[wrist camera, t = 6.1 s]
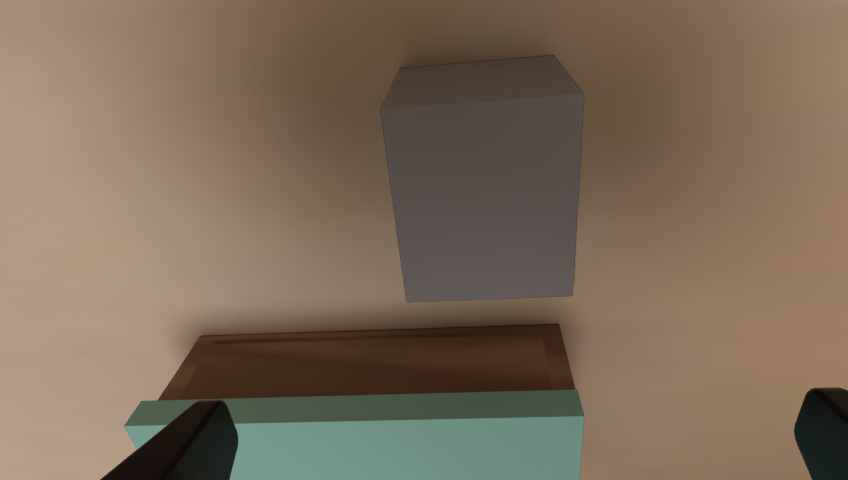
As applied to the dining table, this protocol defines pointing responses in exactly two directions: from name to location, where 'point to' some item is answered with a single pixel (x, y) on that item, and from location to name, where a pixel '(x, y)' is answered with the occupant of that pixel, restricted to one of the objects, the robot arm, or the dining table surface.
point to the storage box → (374, 363)
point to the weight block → (485, 178)
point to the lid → (396, 435)
